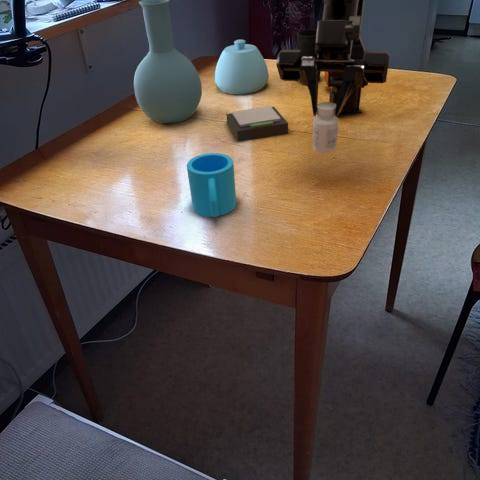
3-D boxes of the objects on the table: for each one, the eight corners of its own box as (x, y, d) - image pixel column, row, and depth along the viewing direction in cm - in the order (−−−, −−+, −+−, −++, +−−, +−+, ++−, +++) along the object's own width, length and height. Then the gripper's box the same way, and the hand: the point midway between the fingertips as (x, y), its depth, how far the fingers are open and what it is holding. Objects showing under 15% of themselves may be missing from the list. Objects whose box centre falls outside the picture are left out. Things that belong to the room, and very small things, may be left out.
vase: (148, 134, 115) (125, 12, 98) (133, 111, 126) (110, -1, 109) (213, 120, 119) (201, 1, 102) (193, 99, 130) (179, -11, 113)
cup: (322, 85, 133) (324, 36, 124) (294, 84, 134) (295, 36, 126) (324, 75, 138) (326, 28, 130) (297, 75, 139) (298, 28, 131)
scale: (274, 116, 118) (274, 103, 116) (288, 133, 111) (288, 120, 109) (226, 123, 117) (225, 111, 115) (237, 141, 109) (236, 128, 107)
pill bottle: (338, 144, 89) (341, 101, 84) (333, 154, 87) (336, 111, 81) (315, 142, 91) (317, 100, 85) (309, 152, 88) (311, 109, 82)
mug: (192, 196, 92) (186, 155, 87) (234, 192, 92) (231, 151, 87) (192, 230, 83) (186, 187, 78) (239, 225, 84) (236, 182, 78)
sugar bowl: (236, 75, 143) (233, 31, 135) (278, 82, 136) (278, 36, 128) (205, 91, 135) (200, 44, 127) (248, 99, 128) (246, 51, 120)
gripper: (278, -6, 77) (264, 91, 77) (398, -8, 73) (383, 94, 73) (287, 36, 88) (275, 120, 88) (392, 36, 84) (379, 125, 84)
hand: (325, 115), depth 83 cm, fingers closed on pill bottle, 3 cm apart
